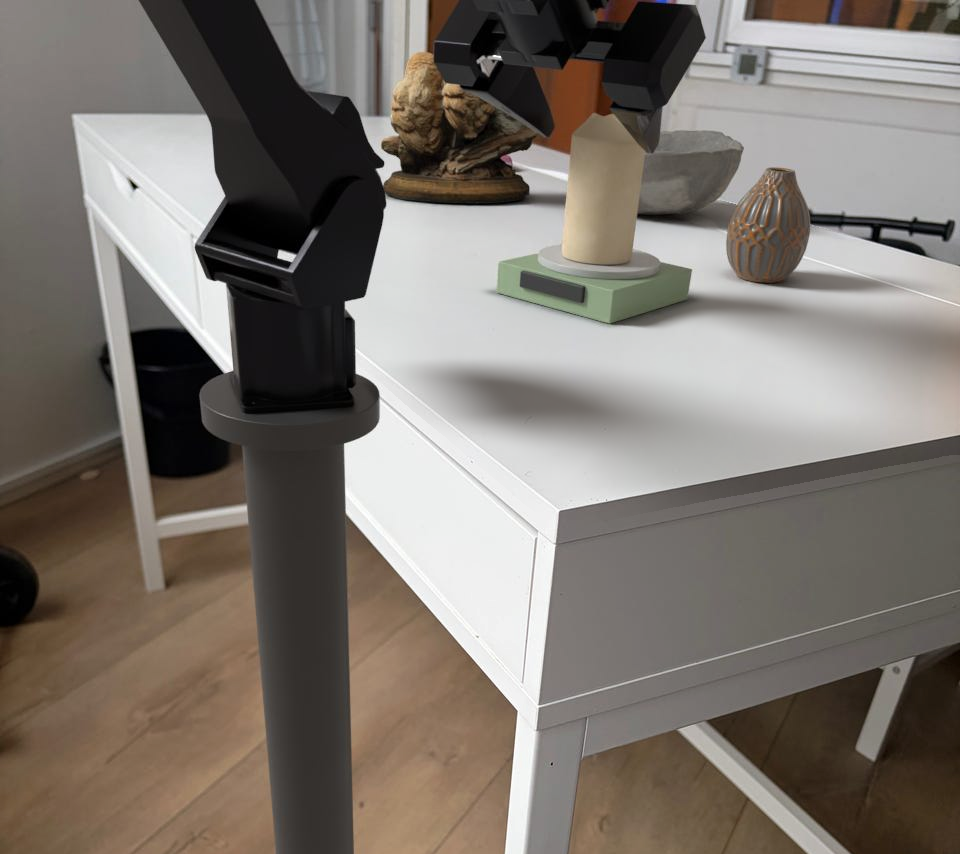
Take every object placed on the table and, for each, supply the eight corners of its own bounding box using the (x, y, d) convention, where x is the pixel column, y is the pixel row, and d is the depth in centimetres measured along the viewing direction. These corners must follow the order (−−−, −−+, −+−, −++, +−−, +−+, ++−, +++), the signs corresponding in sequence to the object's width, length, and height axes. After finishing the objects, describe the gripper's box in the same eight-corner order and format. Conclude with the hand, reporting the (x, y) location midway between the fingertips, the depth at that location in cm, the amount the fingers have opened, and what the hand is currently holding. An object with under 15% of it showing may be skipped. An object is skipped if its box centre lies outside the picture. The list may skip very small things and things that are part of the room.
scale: (607, 324, 74) (612, 282, 72) (493, 293, 79) (496, 253, 78) (687, 299, 81) (693, 261, 79) (578, 272, 87) (582, 236, 85)
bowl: (545, 212, 109) (552, 131, 105) (605, 192, 122) (613, 119, 118) (704, 236, 103) (718, 150, 98) (749, 212, 116) (763, 135, 112)
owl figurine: (519, 186, 122) (530, 23, 113) (549, 205, 113) (564, 28, 104) (374, 185, 118) (373, 15, 109) (392, 204, 109) (393, 19, 99)
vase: (815, 283, 88) (840, 174, 83) (761, 290, 85) (784, 178, 80) (756, 265, 93) (777, 161, 88) (703, 272, 89) (721, 164, 84)
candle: (603, 269, 75) (620, 120, 70) (546, 255, 78) (558, 111, 73) (645, 259, 79) (664, 117, 73) (589, 246, 82) (603, 108, 76)
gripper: (720, -167, 56) (768, 61, 69) (467, -158, 65) (553, 41, 79) (622, -5, 55) (691, 195, 68) (381, -20, 65) (482, 157, 78)
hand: (600, 140), depth 73 cm, fingers open, 9 cm apart
